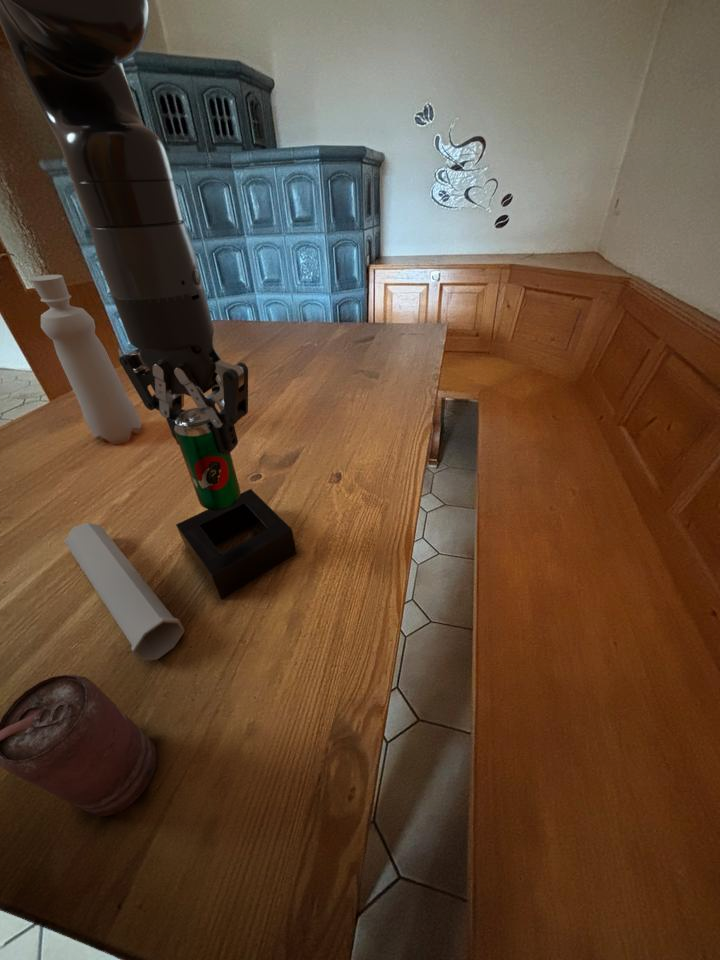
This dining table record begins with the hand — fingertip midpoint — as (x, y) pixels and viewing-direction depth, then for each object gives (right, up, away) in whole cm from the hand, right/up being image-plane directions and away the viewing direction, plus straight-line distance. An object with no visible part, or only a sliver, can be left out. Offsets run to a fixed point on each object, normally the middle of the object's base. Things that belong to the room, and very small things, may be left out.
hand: (207, 445), depth 44 cm
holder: (0, -14, +12) cm, 18 cm away
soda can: (0, -7, +5) cm, 8 cm away
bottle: (-33, +5, +37) cm, 50 cm away
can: (-4, -31, -9) cm, 33 cm away
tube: (-14, -19, +7) cm, 24 cm away
